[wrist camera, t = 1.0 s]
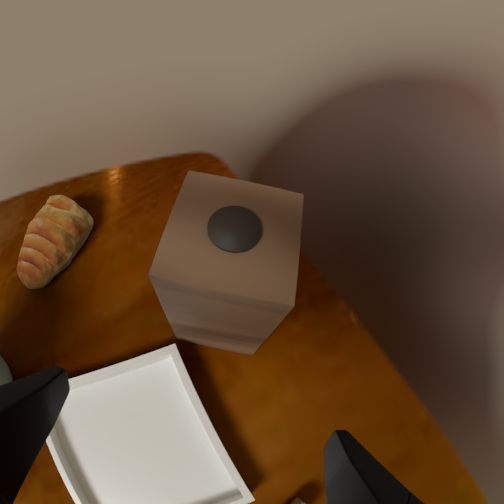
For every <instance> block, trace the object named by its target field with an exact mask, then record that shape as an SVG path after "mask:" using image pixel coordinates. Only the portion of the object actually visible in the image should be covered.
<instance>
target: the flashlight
mask: <svg viewBox="0 0 504 504" xmlns="http://www.w3.org/2000/svg"><path fill="white" fill-rule="evenodd" d="M289 504H307V503H306V502H304V501H303V500H301V499H300V498H298V497H296V498H295V499H294V500H293V501H292V502H291V503H289Z"/></svg>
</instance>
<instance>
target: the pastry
mask: <svg viewBox="0 0 504 504" xmlns="http://www.w3.org/2000/svg"><path fill="white" fill-rule="evenodd" d="M93 225H94V220H93V218H92V216H91V215H90V214H89V213H88V212H87V211H86V210H85V209H83V208H81V207H80V206H79V205H78V204H77V203H76V202H75V201H74V200H72V199H70V198H68V197H66V196H64V195H53V196H51V197H50V198H49V199H48V200H47V203H46V204H45V206H44V207H43V208H42V209H41V210H40V211H39V212H38V213H37V214H36V216H35V218H34V219H33V220H32V221H31V222H30V223H29V225H28V229H27V232H26V235H25V237H24V243H23V245H22V247H21V250H20V255H19V258H18V266H17V272H18V276H19V278H20V280H21V282H22V283H23V284H24V285H25V286H26V287H27V288H29V289H40V288H43V287H45V286H46V285H48V284H49V283H50V282H51V280H52V279H53V278H54V277H55V276H56V275H57V274H59V273H60V272H61V271H62V270H63V269H65V268H67V267H68V266H69V265H70V264H71V260H72V259H73V257H74V256H75V255H76V253H77V252H78V250H79V249H80V248H81V247H82V245H83V244H84V242H85V241H86V239H87V237H88V236H89V234H90V231H91V230H92V227H93Z"/></svg>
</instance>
